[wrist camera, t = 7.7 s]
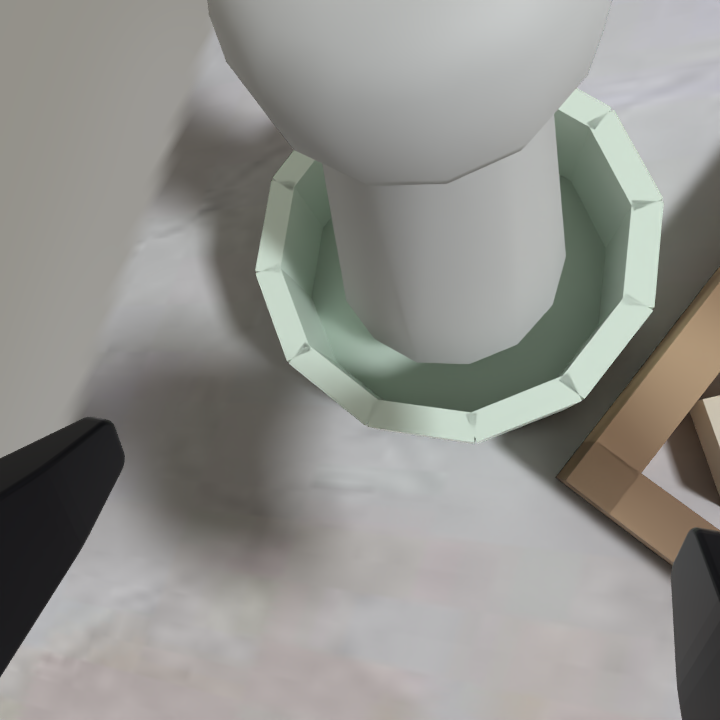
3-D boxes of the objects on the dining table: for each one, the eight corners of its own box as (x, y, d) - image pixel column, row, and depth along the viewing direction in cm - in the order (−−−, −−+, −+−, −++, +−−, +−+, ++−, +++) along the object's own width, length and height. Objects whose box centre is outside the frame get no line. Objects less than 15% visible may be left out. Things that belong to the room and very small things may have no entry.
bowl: (485, 508, 17) (486, 524, 13) (244, 314, 20) (190, 283, 16) (692, 242, 17) (750, 184, 13) (425, 82, 20) (412, -3, 16)
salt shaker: (352, 371, 18) (43, 177, 5) (365, 194, 19) (126, -346, 6) (551, 380, 17) (779, 155, 4) (555, 191, 17) (758, -496, 5)
